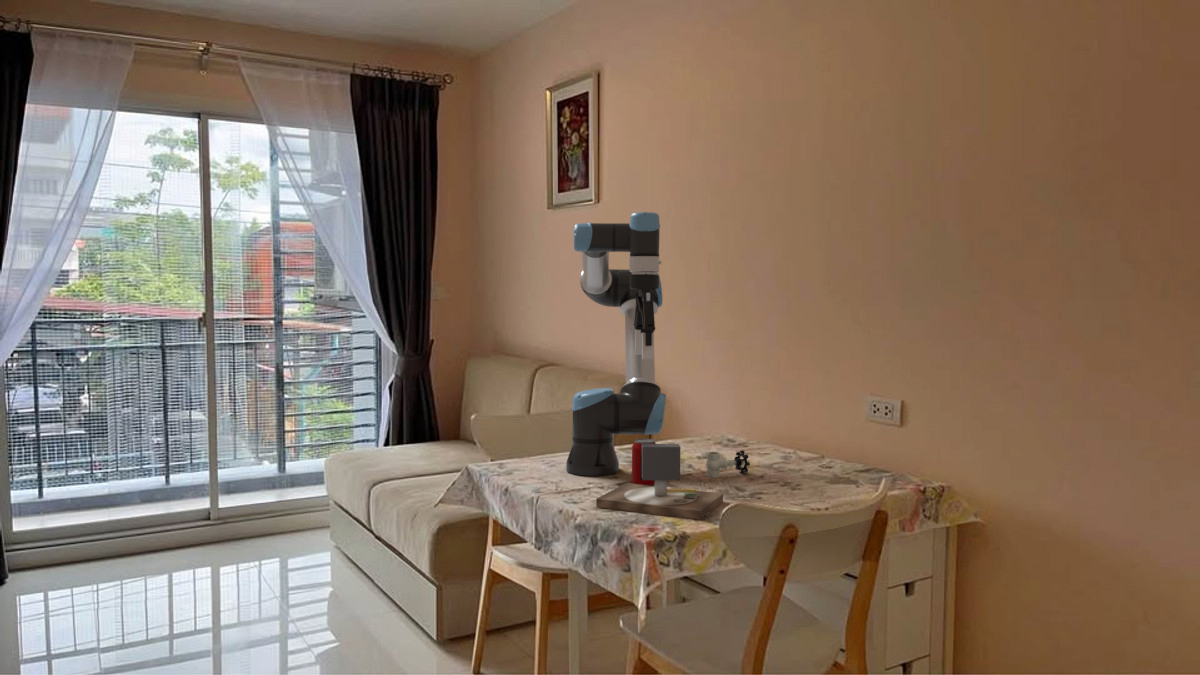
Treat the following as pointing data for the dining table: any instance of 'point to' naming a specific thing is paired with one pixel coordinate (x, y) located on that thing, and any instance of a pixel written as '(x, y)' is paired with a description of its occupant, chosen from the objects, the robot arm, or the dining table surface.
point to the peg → (662, 467)
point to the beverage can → (639, 462)
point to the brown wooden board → (660, 501)
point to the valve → (725, 463)
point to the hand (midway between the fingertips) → (643, 356)
